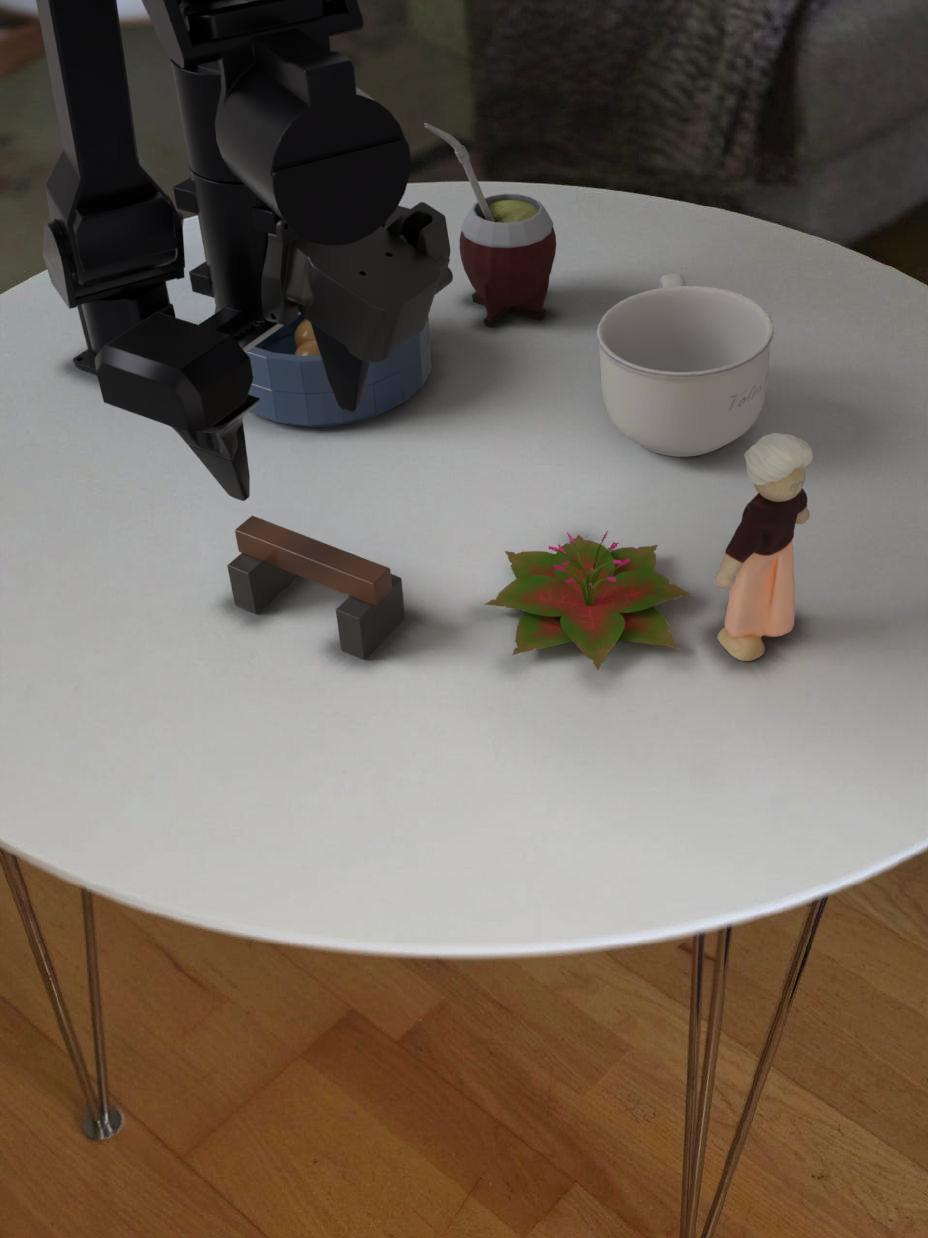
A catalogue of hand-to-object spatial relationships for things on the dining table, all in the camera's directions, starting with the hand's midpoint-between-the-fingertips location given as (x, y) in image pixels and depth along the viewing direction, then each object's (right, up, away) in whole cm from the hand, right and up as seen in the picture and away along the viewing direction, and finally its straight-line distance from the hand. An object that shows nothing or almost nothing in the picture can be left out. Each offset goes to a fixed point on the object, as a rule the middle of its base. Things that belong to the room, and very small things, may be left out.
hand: (296, 451), depth 71 cm
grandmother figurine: (+25, -9, +5) cm, 27 cm away
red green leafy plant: (+16, -8, +7) cm, 19 cm away
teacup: (+23, +5, +21) cm, 31 cm away
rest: (0, -8, +7) cm, 11 cm away
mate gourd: (+12, +15, +33) cm, 38 cm away
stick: (0, -6, +5) cm, 8 cm away
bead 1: (-2, +11, +26) cm, 29 cm away
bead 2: (-2, +9, +24) cm, 26 cm away
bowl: (-1, +9, +27) cm, 28 cm away
